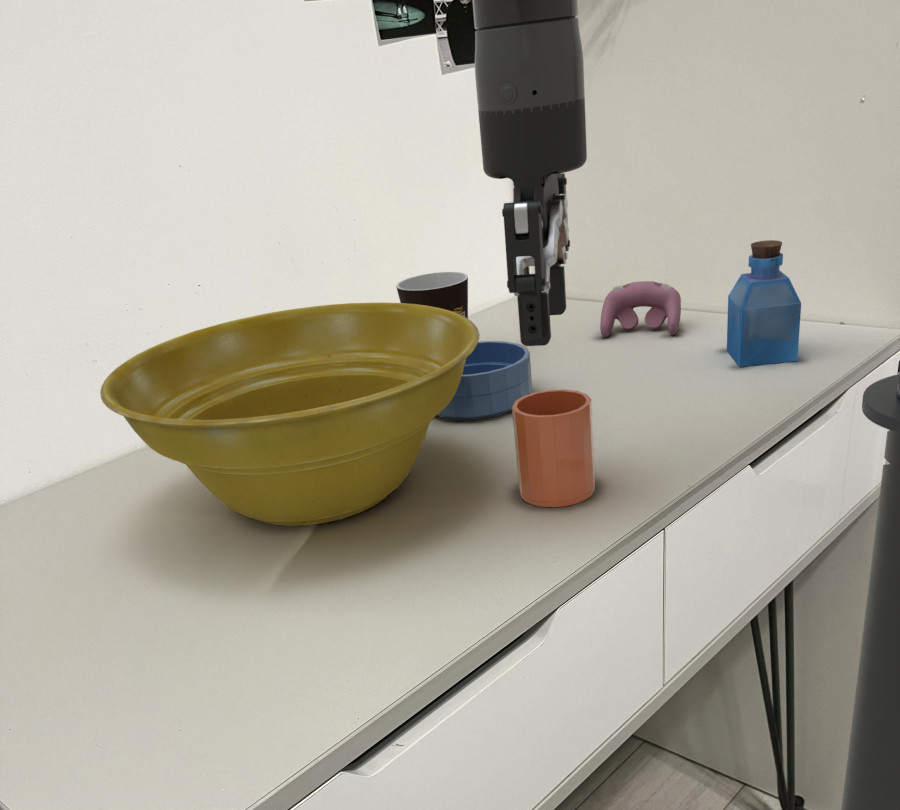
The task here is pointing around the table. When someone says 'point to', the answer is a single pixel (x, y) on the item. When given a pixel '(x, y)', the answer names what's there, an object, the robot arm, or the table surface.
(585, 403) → the cup
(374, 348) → the planter bowl
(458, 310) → the coffee mug
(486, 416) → the bowl
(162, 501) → the table surface
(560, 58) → the robot arm
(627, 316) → the video game controller
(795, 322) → the perfume bottle
